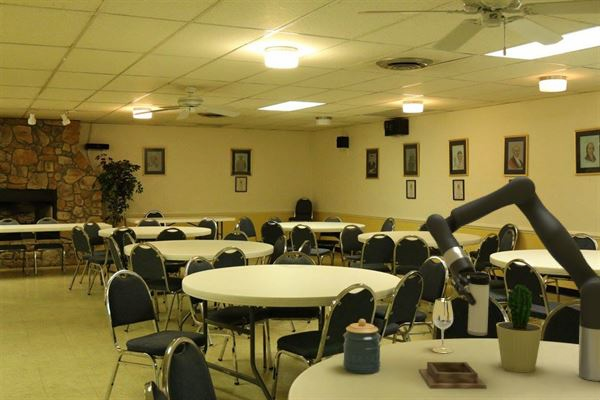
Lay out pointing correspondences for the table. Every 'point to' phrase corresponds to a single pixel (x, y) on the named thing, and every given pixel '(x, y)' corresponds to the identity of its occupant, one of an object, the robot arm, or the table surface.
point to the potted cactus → (519, 334)
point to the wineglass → (442, 320)
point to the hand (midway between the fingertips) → (481, 303)
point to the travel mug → (478, 304)
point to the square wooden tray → (451, 375)
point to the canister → (361, 348)
